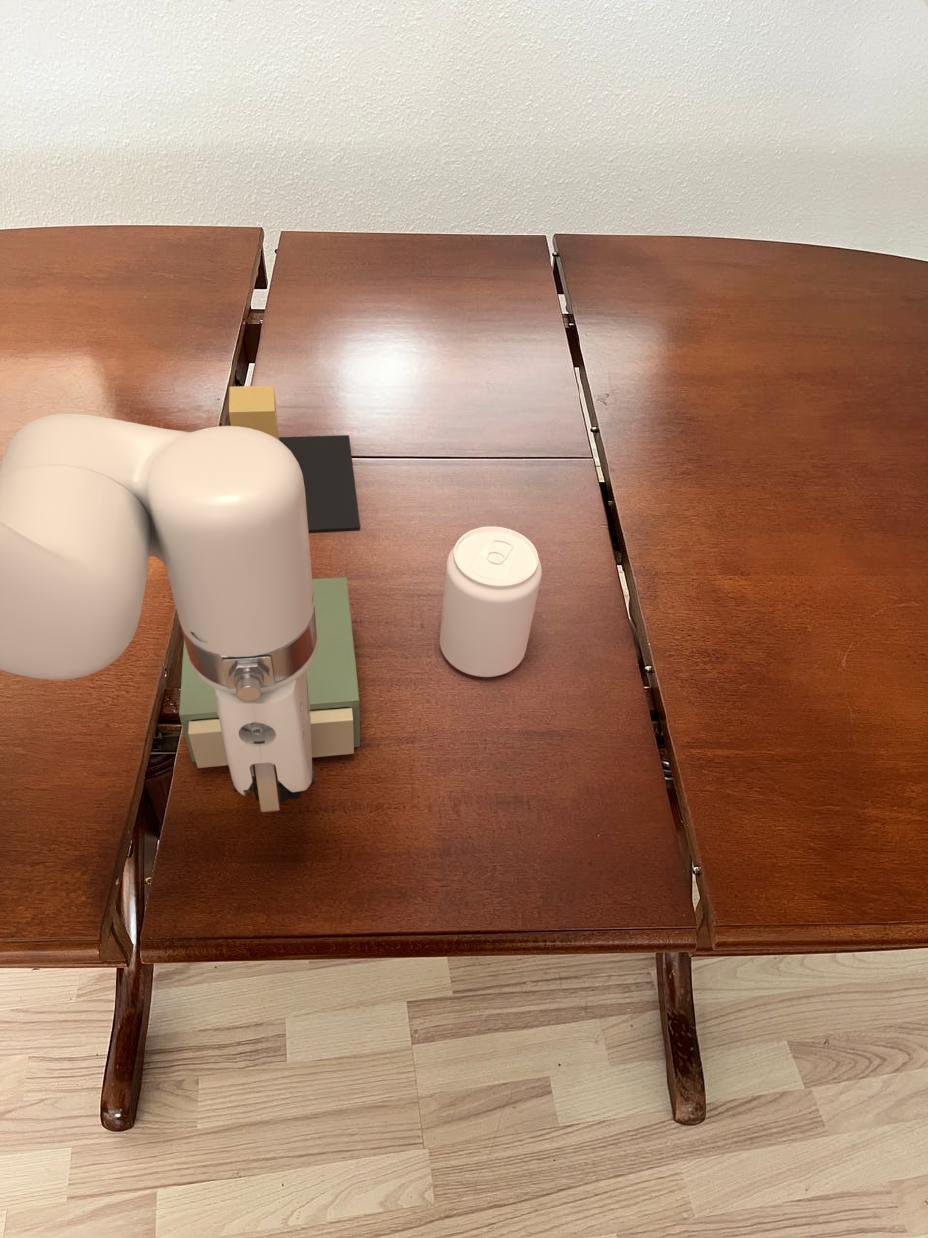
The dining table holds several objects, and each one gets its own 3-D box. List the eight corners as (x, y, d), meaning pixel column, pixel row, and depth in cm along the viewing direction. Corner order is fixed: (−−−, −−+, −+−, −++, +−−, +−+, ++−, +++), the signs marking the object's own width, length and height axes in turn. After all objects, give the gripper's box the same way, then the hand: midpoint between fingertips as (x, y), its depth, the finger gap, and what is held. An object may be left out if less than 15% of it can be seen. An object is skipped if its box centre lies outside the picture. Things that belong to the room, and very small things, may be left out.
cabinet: (360, 747, 72) (359, 700, 67) (192, 762, 70) (178, 715, 65) (348, 625, 81) (346, 576, 76) (198, 635, 78) (187, 585, 74)
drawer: (358, 799, 68) (357, 766, 64) (195, 815, 65) (185, 783, 62) (343, 638, 78) (342, 602, 75) (203, 648, 76) (195, 612, 73)
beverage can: (426, 664, 78) (433, 571, 69) (456, 605, 84) (467, 512, 75) (509, 693, 77) (528, 602, 68) (535, 630, 82) (555, 538, 73)
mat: (160, 539, 86) (160, 536, 86) (170, 443, 97) (170, 440, 96) (360, 530, 90) (360, 527, 89) (348, 437, 100) (348, 434, 100)
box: (240, 495, 91) (228, 411, 83) (241, 470, 94) (229, 386, 86) (282, 494, 92) (274, 410, 84) (281, 468, 95) (274, 385, 87)
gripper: (321, 729, 46) (334, 880, 59) (312, 538, 55) (325, 705, 69) (175, 741, 44) (223, 892, 58) (192, 543, 54) (229, 713, 68)
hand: (278, 790), depth 64 cm, fingers closed
